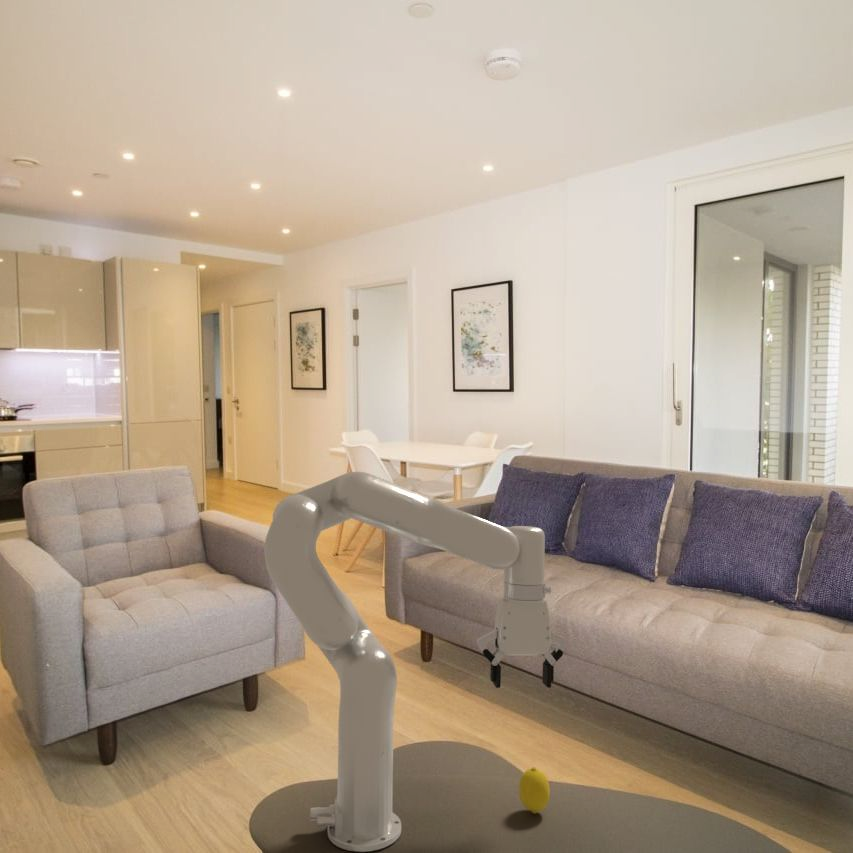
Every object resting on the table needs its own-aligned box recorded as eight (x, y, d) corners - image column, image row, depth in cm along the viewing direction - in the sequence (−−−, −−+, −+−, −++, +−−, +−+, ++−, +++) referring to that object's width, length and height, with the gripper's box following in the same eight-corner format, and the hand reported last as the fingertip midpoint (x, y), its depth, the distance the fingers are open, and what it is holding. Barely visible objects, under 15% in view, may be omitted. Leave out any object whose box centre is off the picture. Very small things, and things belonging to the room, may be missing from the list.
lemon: (518, 819, 114) (518, 772, 115) (520, 804, 119) (519, 759, 120) (550, 822, 113) (549, 775, 113) (550, 807, 118) (549, 762, 119)
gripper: (561, 589, 126) (559, 679, 124) (474, 588, 123) (472, 679, 122) (574, 596, 118) (573, 692, 117) (483, 595, 116) (480, 692, 114)
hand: (521, 685), depth 119 cm, fingers open, 9 cm apart
